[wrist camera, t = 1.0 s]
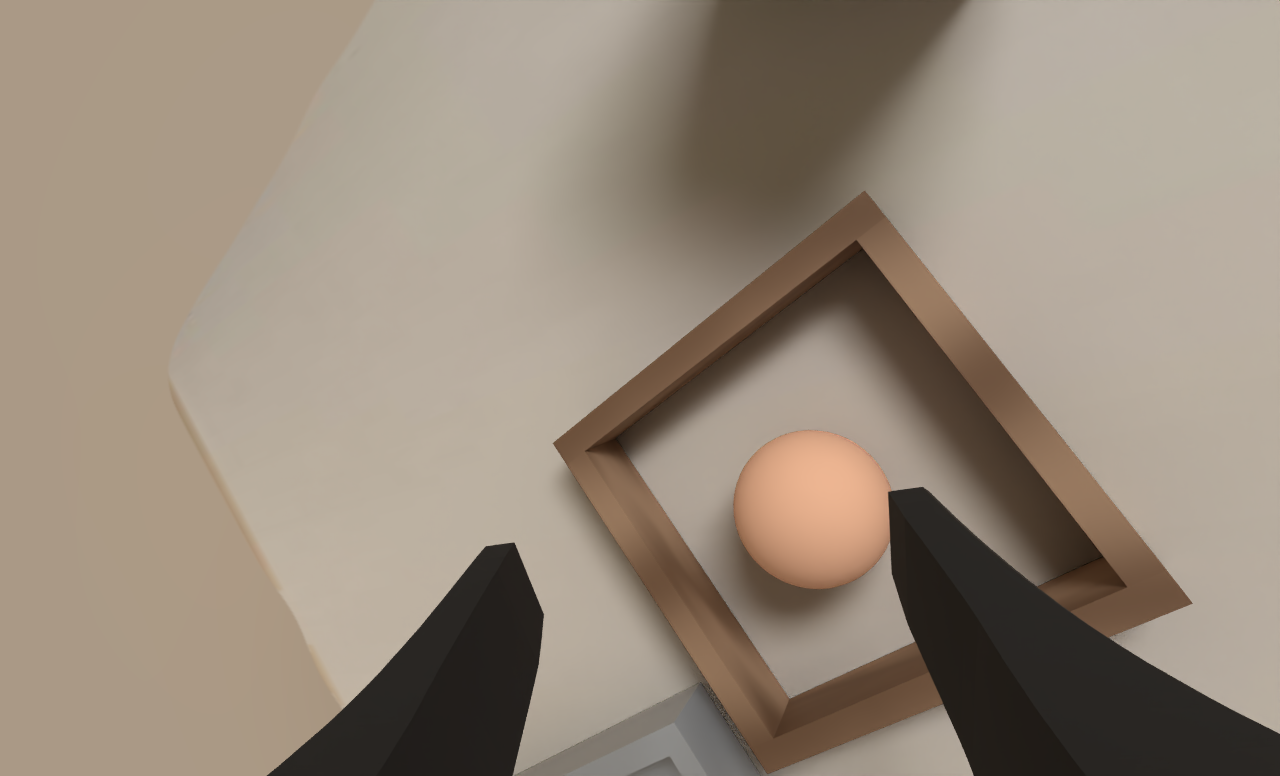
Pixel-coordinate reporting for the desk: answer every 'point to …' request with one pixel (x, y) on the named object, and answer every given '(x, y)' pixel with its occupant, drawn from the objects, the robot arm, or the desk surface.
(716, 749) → the tray
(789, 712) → the square wooden frame
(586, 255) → the desk surface
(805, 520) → the ball
